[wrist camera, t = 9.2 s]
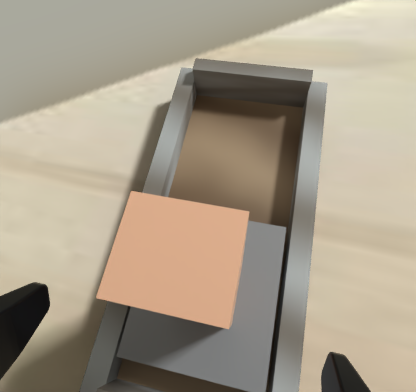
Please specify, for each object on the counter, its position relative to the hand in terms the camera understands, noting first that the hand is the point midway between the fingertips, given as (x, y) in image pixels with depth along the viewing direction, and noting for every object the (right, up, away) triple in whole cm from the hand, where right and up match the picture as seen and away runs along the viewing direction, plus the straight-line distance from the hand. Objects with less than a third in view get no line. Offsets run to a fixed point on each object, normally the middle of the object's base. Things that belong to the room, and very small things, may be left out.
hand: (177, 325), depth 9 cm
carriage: (+1, -2, +8) cm, 8 cm away
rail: (+2, +2, +11) cm, 12 cm away
